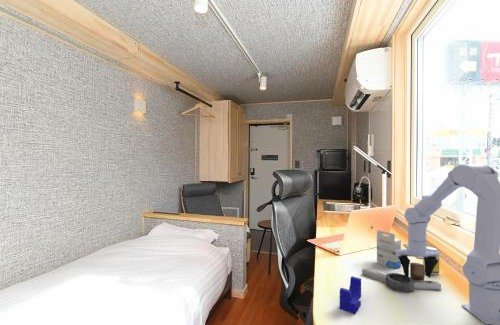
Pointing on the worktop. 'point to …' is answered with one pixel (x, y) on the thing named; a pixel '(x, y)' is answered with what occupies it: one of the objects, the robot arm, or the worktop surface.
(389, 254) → the ink box
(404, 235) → the worktop surface
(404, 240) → the worktop surface
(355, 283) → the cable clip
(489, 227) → the robot arm
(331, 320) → the worktop surface
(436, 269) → the supplement bottle
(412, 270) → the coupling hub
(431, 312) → the worktop surface
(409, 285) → the coupling collar
